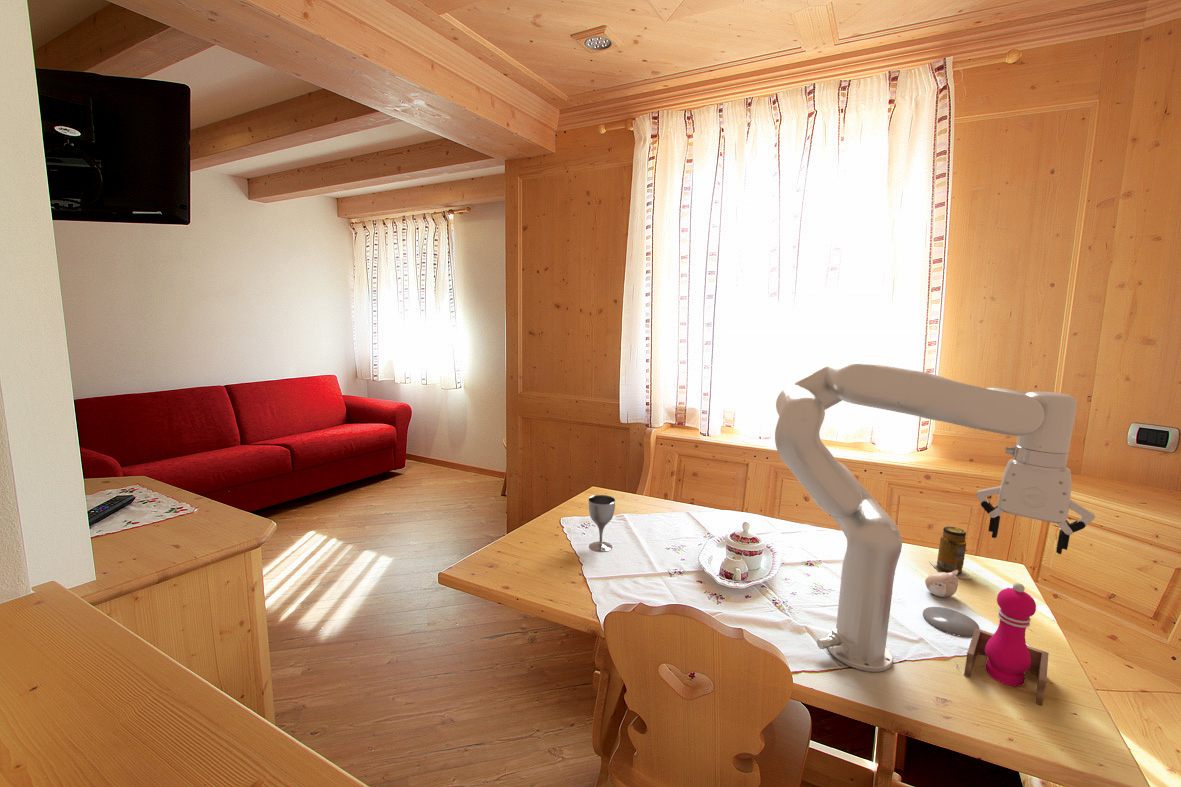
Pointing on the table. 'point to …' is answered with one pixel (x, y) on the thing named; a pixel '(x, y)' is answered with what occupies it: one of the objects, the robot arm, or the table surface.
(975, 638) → the cradle
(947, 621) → the coaster
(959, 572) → the condiment
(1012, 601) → the pepper mill
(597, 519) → the wine glass
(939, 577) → the beige plush toy
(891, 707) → the table surface
